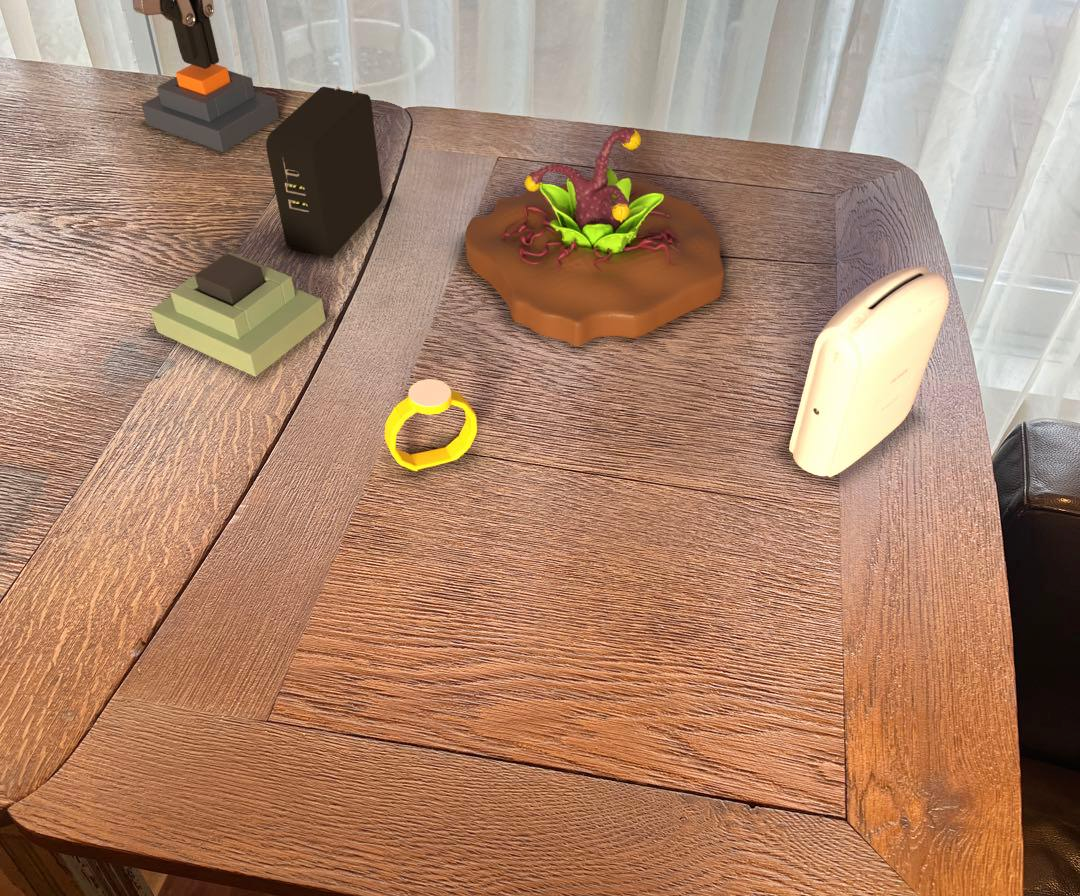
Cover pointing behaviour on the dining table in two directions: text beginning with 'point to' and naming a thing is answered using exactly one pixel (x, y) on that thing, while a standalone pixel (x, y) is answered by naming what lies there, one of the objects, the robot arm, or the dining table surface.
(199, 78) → the key
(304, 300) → the green stepped button
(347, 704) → the dining table surface
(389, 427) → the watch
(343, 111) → the electronic device
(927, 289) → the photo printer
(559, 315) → the plant
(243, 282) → the key
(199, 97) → the grey orange stepped button
